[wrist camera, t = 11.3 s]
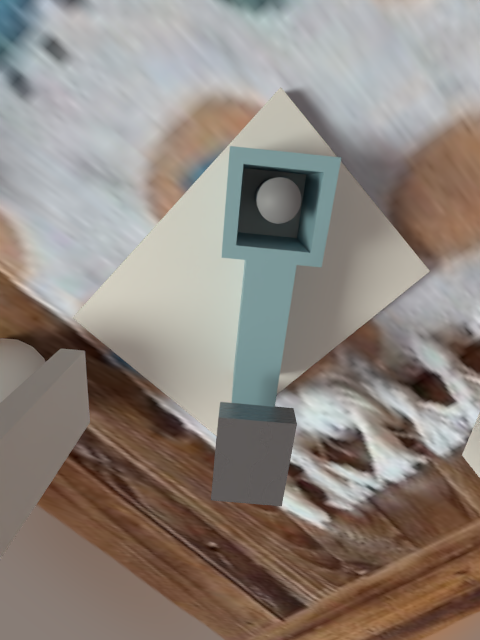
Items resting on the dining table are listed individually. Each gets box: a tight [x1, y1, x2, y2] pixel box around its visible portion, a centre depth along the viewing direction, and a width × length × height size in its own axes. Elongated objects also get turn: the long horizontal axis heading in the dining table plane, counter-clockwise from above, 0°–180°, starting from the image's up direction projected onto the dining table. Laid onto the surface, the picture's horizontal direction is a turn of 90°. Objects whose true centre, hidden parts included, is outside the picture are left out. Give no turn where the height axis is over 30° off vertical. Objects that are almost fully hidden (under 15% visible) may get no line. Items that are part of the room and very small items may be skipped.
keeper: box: [211, 402, 297, 506], centre depth 26 cm, size 6×4×12 cm
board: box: [73, 88, 430, 436], centre depth 26 cm, size 23×17×8 cm
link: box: [221, 146, 341, 407], centre depth 25 cm, size 17×6×6 cm, turn 174°
